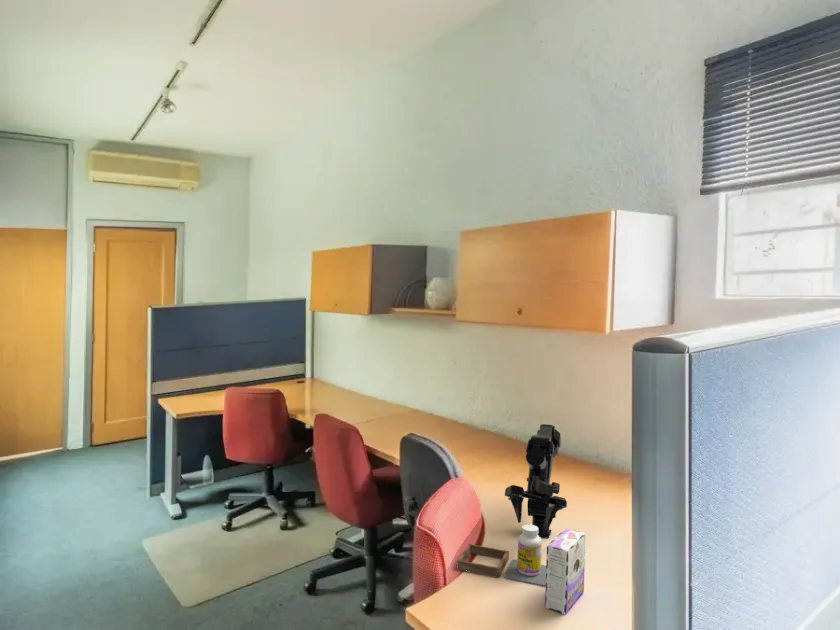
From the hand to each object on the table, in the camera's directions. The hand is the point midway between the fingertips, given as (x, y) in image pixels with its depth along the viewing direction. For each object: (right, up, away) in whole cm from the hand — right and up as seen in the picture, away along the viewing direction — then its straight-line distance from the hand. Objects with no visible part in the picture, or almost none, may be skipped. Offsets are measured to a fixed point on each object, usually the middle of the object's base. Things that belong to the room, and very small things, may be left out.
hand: (533, 525), depth 171 cm
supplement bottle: (-3, -10, -10) cm, 14 cm away
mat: (-3, -10, -10) cm, 14 cm away
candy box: (+3, -11, -24) cm, 27 cm away
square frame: (-16, -10, -5) cm, 19 cm away
